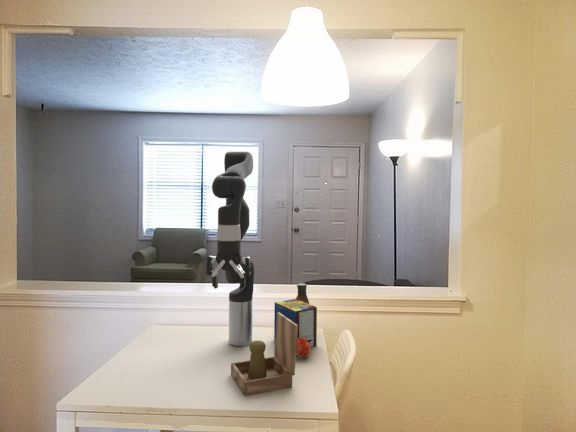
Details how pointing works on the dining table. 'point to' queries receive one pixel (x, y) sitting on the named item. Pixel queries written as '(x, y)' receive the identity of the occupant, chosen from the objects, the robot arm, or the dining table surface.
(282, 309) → the protein box
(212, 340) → the dining table surface
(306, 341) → the pomegranate
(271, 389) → the walnut box
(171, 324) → the dining table surface
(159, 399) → the dining table surface
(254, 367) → the olive tapered rounded piece
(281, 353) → the box lid
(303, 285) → the sauce bottle
